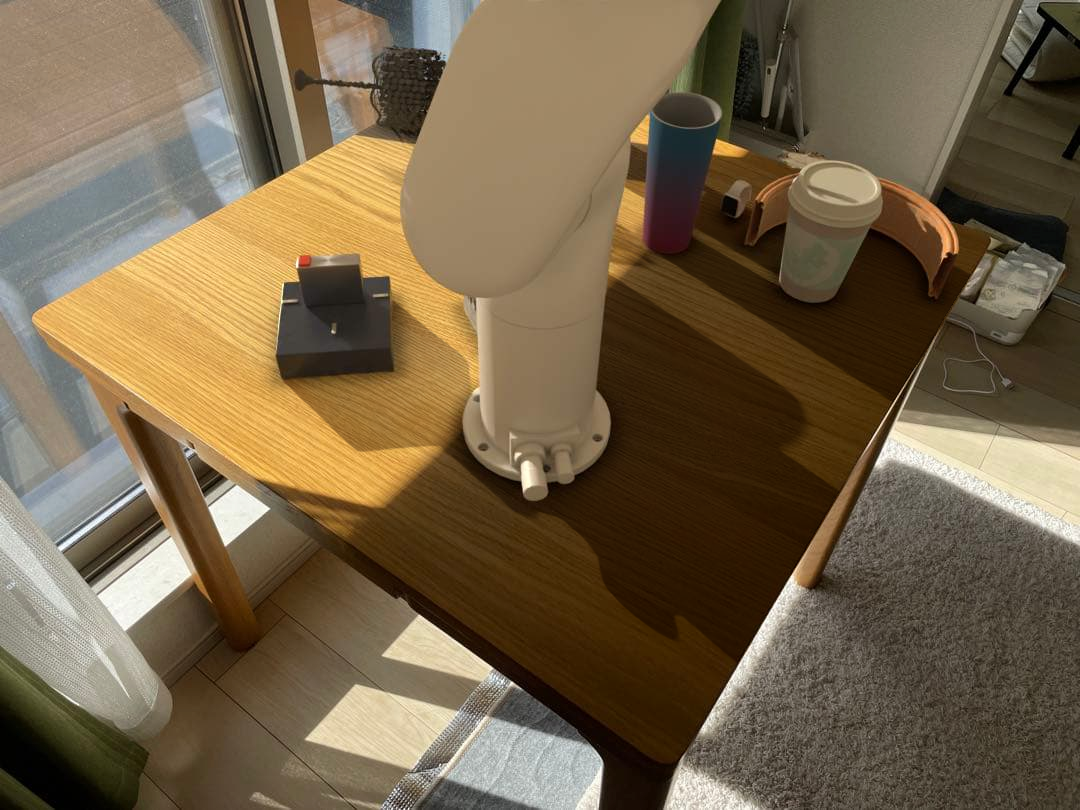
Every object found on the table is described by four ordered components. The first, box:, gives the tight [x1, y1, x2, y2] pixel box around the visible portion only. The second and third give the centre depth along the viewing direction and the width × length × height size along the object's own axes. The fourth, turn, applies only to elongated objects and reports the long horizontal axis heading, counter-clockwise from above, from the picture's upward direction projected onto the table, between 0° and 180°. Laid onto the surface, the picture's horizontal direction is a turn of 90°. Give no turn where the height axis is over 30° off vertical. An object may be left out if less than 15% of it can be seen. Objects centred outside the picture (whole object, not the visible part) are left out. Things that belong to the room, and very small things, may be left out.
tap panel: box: [274, 275, 395, 380], centre depth 83 cm, size 12×10×3 cm
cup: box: [642, 91, 723, 255], centre depth 90 cm, size 7×7×15 cm
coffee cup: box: [778, 159, 883, 304], centre depth 86 cm, size 8×8×12 cm
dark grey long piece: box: [294, 45, 447, 132], centre depth 107 cm, size 9×22×9 cm
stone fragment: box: [773, 148, 882, 187], centre depth 93 cm, size 9×11×2 cm
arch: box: [744, 172, 960, 300], centre depth 93 cm, size 6×20×10 cm
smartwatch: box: [720, 179, 753, 219], centre depth 97 cm, size 4×2×4 cm, turn 142°
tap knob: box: [296, 253, 366, 306], centre depth 81 cm, size 6×2×5 cm, turn 97°
